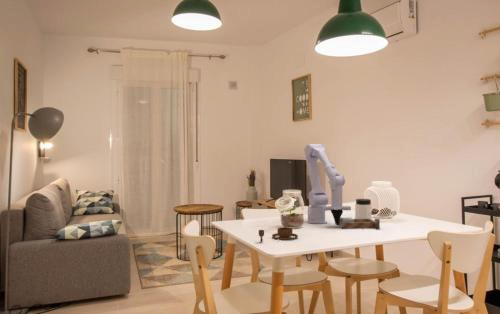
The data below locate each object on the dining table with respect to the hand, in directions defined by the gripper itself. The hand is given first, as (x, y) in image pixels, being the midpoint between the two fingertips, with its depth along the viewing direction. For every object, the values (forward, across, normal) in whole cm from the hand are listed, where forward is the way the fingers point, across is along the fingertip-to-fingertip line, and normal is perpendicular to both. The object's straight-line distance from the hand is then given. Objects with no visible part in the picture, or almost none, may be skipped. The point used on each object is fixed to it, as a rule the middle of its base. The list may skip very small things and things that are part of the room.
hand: (336, 224), depth 218 cm
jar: (+2, +20, +18) cm, 27 cm away
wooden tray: (+1, +11, -1) cm, 11 cm away
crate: (+2, +6, 0) cm, 6 cm away
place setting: (+2, -35, -25) cm, 43 cm away
